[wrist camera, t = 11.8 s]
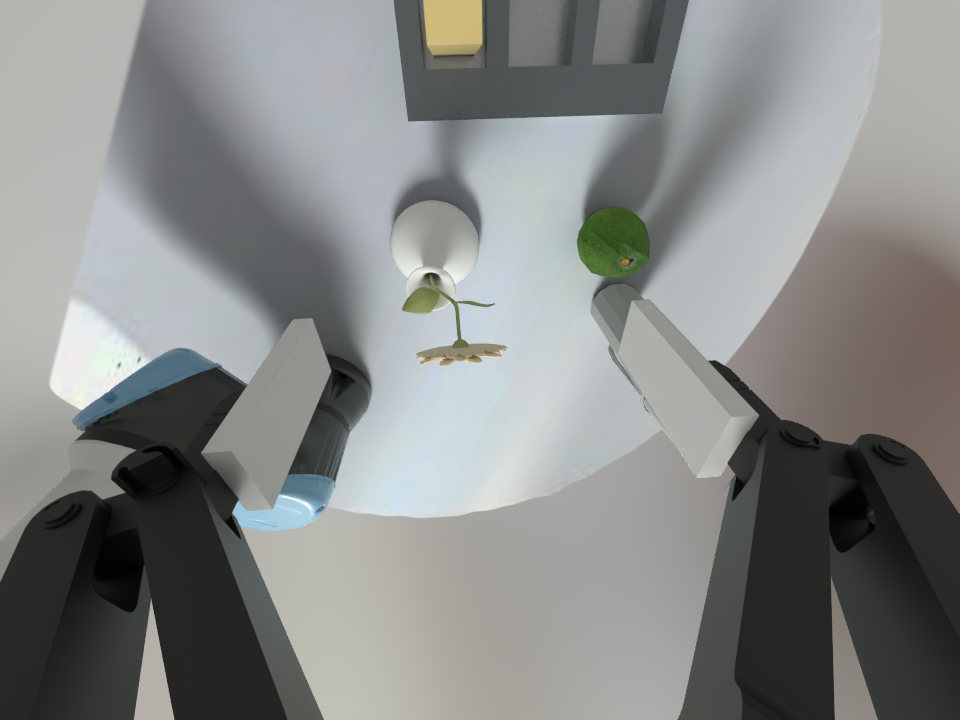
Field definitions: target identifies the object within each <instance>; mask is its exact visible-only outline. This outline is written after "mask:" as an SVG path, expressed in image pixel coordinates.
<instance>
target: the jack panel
mask: <svg viewBox="0 0 960 720" xmlns="http://www.w3.org/2000/svg"><path fill="white" fill-rule="evenodd" d="M688 1H689V0H482V45H481V47H480V48H479V50H478V51H477V52H476V54H475V55H474V56H453V57H433V55H432V53H431V51H430V50H429V48H428V46H427V39H426V28H425V16H424V4H423V0H394V7H395V15H396V24H397V32H398V40H399V48H400V57H401V65H402V73H403V81H404V90H405V98H406V106H407V114H408V121H435V120H466V119H497V118H527V117H558V116H589V115H620V114H651V113H662V111H663V107H664V103H665V98H666V94H667V90H668V86H669V81H670V77H671V73H672V69H673V65H674V60H675V56H676V52H677V48H678V43H679V39H680V35H681V31H682V27H683V22H684V18H685V14H686V10H687V5H688Z"/></svg>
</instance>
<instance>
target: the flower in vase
mask: <svg viewBox="0 0 960 720" xmlns="http://www.w3.org/2000/svg"><path fill="white" fill-rule="evenodd" d="M390 248H391V253H392V256H393V259H394V261H395V263H396V265H397V266H398V268H399V269H400V270H401V272H402V273H403V274H404V275H405V276H406V277H407V278H408V279H407V282H406V292H407V295H408V299H407V300H406V302H405V304H404V306H403V308H402V310H403V311H406V312H410V313H416V314H427V313H430V312H431V311H435V310H440V309H442V308H444V307H446V306H447V305H449V304H450V302H452V303H453V305H454V307H455V311H456V323H457V335H458V340H457V341H455V343H454V344H453V346H445V347H438V348H433V349H429V350H426V351H422V352H419V353H417V354H416V355H418V357H417V358H416V359H422V358H426V359H425V360H424V361H421V362H420V364H427V363H431V362H435V361H438V360H442V359H443V360H442V361H441V362H440V365H441V366H446V365H450V364H452V363H454V362H455V361H465V360H466V361H468V362H470V363H479V362H481V361H482V360H481V358H480V357H478V356H483V357H501V355H500V354H498V353H500V351H505V349H507V347H506V346H502V345H496V344H468V343H467V342H466V341H465V340H463V339H461V331H460V319H459V309H458V305H457V303H464V304H471V305H476V306H482V307H489V306H492V305H494V304H495V303H494V304H489V305H485V304H480V303H476V302H472V301H459V302H455V301H454V300H453V298H454V295H455V284H456V283H458V282H460V281H461V280H463V279H464V278H465V277H466V276H467V275H468V274H469V273H470V272H471V270H472V269H473V267H474V266H475V263H476V261H477V258H478V253H479V239H478V235H477V232H476V229H475V227H474V225H473V223H472V222H471V220H470V219H469V218H468V216H467V215H466V214H465V213H464V212H463V211H461V210H460V209H459V208H457V207H455V206H454V205H451V204H449V203H446V202H443V201H436V200H428V201H422V202H418V203H416V204H413V205H411V206H410V207H408V208H407V209H405V210H404V211H403V212H402V213H401V214H400V215H399V217H398V218H397V219H396V221H395V223H394V225H393V228H392V231H391V236H390Z"/></svg>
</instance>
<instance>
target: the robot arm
mask: <svg viewBox="0 0 960 720" xmlns="http://www.w3.org/2000/svg"><path fill="white" fill-rule="evenodd" d="M618 355H619V356H620V358H621V360H622V361H623V363H624V364H625V366H626V367H627V369H628V371H629V372H630V374H631V375H632V377H633V379H634V380H635V382H636V383H637V385H638V386H639V388H640V390H641V391H642V393H643V394H644V396H645V398H646V399H647V401H648V402H649V404H650V405H651V407H652V409H653V410H654V412H655V413H656V415H657V417H658V418H659V420H660V421H661V423H662V424H663V426H664V428H665V429H666V431H667V432H668V434H669V436H670V437H671V439H672V440H673V442H674V443H675V445H676V447H677V448H678V450H679V451H680V453H681V455H682V456H683V458H684V459H685V461H686V463H687V464H688V466H689V467H690V469H691V470H692V472H693V474H694V475H695V477H696V478H704V477H718V476H721V474H722V472H723V471H724V469H725V468H726V466H727V465H729V466H730V468H731V469H732V470H733V472H734V473H735V476H734V477H733V478H732V480H731V482H730V483H729V484H728V486H727V487H726V489H725V490H724V492H723V493H722V496H724V497H726V495H727V494H728V498H727V502H726V507H725V511H724V516H723V521H722V526H721V530H720V535H719V540H718V545H717V549H716V554H715V559H714V563H713V568H712V573H711V577H710V582H709V587H708V591H707V596H706V601H705V606H704V611H703V615H702V620H701V624H700V629H699V634H698V639H697V643H696V648H695V653H694V657H693V662H692V667H691V672H690V676H689V681H688V686H687V690H686V695H685V700H684V704H683V708H682V711H681V713H680V716H679V718H678V720H835V714H834V678H833V642H832V607H831V577H832V580H833V583H834V586H835V589H836V592H837V596H838V599H839V602H840V605H841V608H842V611H843V614H844V617H845V620H846V623H847V626H848V629H849V632H850V635H851V638H852V641H853V644H854V648H855V650H856V654H857V657H858V660H859V663H860V666H861V669H862V672H863V675H864V678H865V681H866V684H867V687H868V690H869V693H870V696H871V699H872V702H873V706H874V709H875V712H876V715H877V718H878V720H960V514H959V513H958V512H957V510H956V508H955V507H954V505H953V504H952V502H951V501H950V499H949V498H948V496H947V495H946V493H945V492H944V490H943V489H942V487H941V486H940V484H939V483H938V481H937V480H936V478H935V477H934V475H933V474H932V473H931V471H930V470H929V468H928V466H926V464H925V462H924V461H923V460H922V459H921V457H920V456H919V455H918V454H917V453H916V452H914V451H913V450H911V449H910V448H908V447H907V446H906V445H904V444H902V443H900V442H898V441H896V440H893V439H891V438H887V437H884V436H881V435H875V434H865V435H861V436H860V437H859V438H858V439H857V440H856V441H855V442H854V443H853V444H852V445H848V444H841V443H836V442H830V441H824V440H822V438H821V437H820V436H819V435H818V434H817V433H815V432H814V431H812V430H810V429H809V428H808V427H805V426H803V425H801V424H799V423H795V422H792V421H788V420H781V419H780V418H779V417H778V416H776V414H774V412H772V410H771V409H770V408H769V407H768V406H767V405H766V404H765V403H764V402H763V401H762V400H761V399H759V397H758V396H757V395H756V394H754V392H753V391H752V390H749V387H748V386H747V385H746V384H744V382H742V381H740V378H739V377H737V375H736V374H735V373H734V372H732V370H731V369H729V368H728V367H726V366H724V365H723V364H721V363H719V362H717V361H716V360H713V361H707V360H706V359H705V357H704V356H703V355H702V354H701V353H700V352H699V351H698V350H697V349H696V348H695V347H694V346H693V345H692V344H691V343H690V342H689V341H688V339H687V338H686V337H685V336H684V335H683V334H682V333H681V332H680V331H679V330H678V329H677V328H676V327H675V326H674V325H673V324H672V323H671V321H670V320H669V319H668V318H667V317H666V316H665V315H664V314H663V313H662V312H661V311H660V310H659V309H658V308H657V307H656V306H655V305H654V303H653V302H652V301H651V300H633V301H632V302H631V305H630V309H629V313H628V317H627V321H626V325H625V328H624V332H623V336H622V340H621V344H620V348H619V352H618ZM370 398H371V389H370V385H369V383H368V381H367V379H366V377H365V376H364V375H363V374H362V372H361V371H360V370H358V369H357V368H356V367H355V366H353V365H352V364H350V363H348V362H346V361H345V360H342V359H340V358H337V357H334V356H330V355H325V352H324V349H323V347H322V344H321V341H320V338H319V336H318V333H317V330H316V327H315V325H314V322H313V319H312V318H307V319H293V320H292V321H291V323H290V324H289V326H288V327H287V329H286V330H285V332H284V333H283V334H282V336H281V337H280V339H279V340H278V342H277V343H276V345H275V346H274V348H273V349H272V350H271V352H270V353H269V355H268V356H267V358H266V359H265V361H264V362H263V364H262V365H261V366H260V368H259V369H258V371H257V372H256V374H255V375H254V377H253V378H252V380H251V381H250V382H249V384H248V385H247V384H246V383H244V382H243V381H241V380H240V379H238V378H237V377H235V376H234V375H232V374H231V373H229V372H228V371H226V370H225V369H223V368H222V365H220V364H218V363H213V362H212V361H210V360H208V359H207V358H205V357H203V356H202V355H200V354H198V353H197V352H195V351H193V350H191V349H187V348H177V349H172V350H170V351H168V352H166V353H164V354H162V355H161V356H159V357H157V358H156V359H154V360H153V361H151V362H150V363H148V364H147V365H145V366H144V367H142V368H141V369H139V370H138V371H136V372H135V373H133V374H132V375H130V376H129V377H128V378H126V379H125V380H123V381H122V382H120V383H119V384H118V385H116V386H115V387H114V388H112V389H111V390H110V391H109V392H107V393H105V394H104V395H103V396H101V397H100V398H99V399H97V400H96V401H94V402H93V403H91V404H90V405H89V406H87V407H86V408H85V409H83V410H82V411H81V412H80V413H79V414H77V415H76V416H75V417H74V419H73V421H72V422H73V424H74V425H76V426H77V429H79V430H81V431H85V432H84V433H83V434H82V435H81V436H80V437H79V438H78V439H76V440H75V441H74V442H73V443H72V444H71V445H70V446H69V448H68V453H69V459H70V464H71V471H70V472H69V473H68V474H67V475H66V476H65V477H64V478H63V479H62V480H61V481H60V482H59V483H58V484H57V485H56V486H55V487H54V488H53V489H52V490H51V491H50V492H49V493H48V494H47V495H46V496H45V497H44V498H43V499H42V500H41V501H40V502H39V503H38V504H37V505H36V506H35V507H34V508H33V509H32V510H31V511H30V512H29V513H28V514H27V515H26V516H24V518H22V520H20V521H19V522H18V523H17V524H16V525H15V526H14V527H13V528H12V529H11V530H10V531H9V532H8V533H7V534H6V535H5V536H4V537H3V538H2V539H1V540H0V720H134V714H135V707H136V700H137V692H138V686H139V679H140V672H141V665H142V658H143V651H144V644H145V637H146V630H147V623H148V616H149V609H150V602H151V599H152V604H153V610H154V614H155V620H156V625H157V630H158V635H159V641H160V646H161V651H162V657H163V662H164V667H165V672H166V678H167V683H168V688H169V693H170V698H171V704H172V709H173V714H174V720H324V719H323V717H322V715H321V712H320V710H319V708H318V706H317V703H316V701H315V698H314V696H313V694H312V691H311V689H310V687H309V684H308V682H307V680H306V678H305V675H304V673H303V671H302V668H301V666H300V664H299V661H298V659H297V657H296V654H295V652H294V650H293V648H292V645H291V643H290V641H289V638H288V636H287V634H286V631H285V629H284V627H283V624H282V622H281V620H280V617H279V615H278V613H277V610H276V608H275V606H274V604H273V601H272V599H271V597H270V594H269V592H268V590H267V587H266V585H265V583H264V580H263V578H262V576H261V573H260V571H259V569H258V567H257V564H256V562H255V560H254V557H253V555H252V553H251V550H250V548H249V546H248V543H247V541H246V539H245V536H244V534H243V532H242V530H241V527H245V528H250V529H255V530H266V531H277V530H288V529H294V528H298V527H301V526H304V525H307V524H309V523H311V522H313V521H314V520H316V519H317V518H319V517H320V516H321V515H322V513H323V512H324V510H325V509H326V507H327V504H328V502H329V499H330V497H331V494H332V492H333V490H334V488H335V481H336V478H337V474H338V471H339V467H340V464H341V461H342V457H343V454H344V450H345V447H346V443H347V439H348V436H349V433H350V432H351V431H352V429H353V428H354V427H355V426H356V424H357V423H358V422H359V420H360V419H361V418H362V417H363V416H364V414H365V413H366V411H367V409H368V406H369V402H370ZM874 515H875V516H874ZM240 526H241V527H240Z"/></svg>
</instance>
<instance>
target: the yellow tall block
mask: <svg viewBox="0 0 960 720" xmlns="http://www.w3.org/2000/svg"><path fill="white" fill-rule="evenodd" d="M423 4H424V16H425V28H426V39H427V46H428V48H429V50H430V51H431V53H432V55H433V57H453V56H474V55H475V54H476V52H477V51H478V50H479V48H480V47H481V45H482V0H423Z"/></svg>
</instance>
